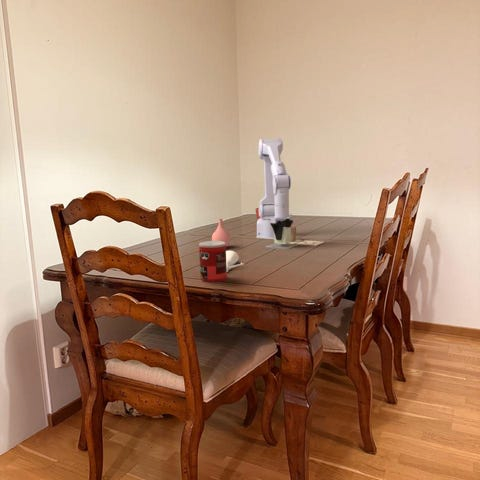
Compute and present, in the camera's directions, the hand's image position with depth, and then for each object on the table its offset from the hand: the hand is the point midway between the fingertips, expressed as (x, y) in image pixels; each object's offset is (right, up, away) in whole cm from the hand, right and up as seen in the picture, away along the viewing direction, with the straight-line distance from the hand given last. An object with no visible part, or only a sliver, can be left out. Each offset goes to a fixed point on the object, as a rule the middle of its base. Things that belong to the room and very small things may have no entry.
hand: (281, 238), depth 177 cm
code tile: (+13, -2, +7) cm, 14 cm away
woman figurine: (-21, -10, -30) cm, 38 cm away
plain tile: (+4, -1, +12) cm, 13 cm away
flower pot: (-3, +7, +58) cm, 59 cm away
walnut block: (+4, -1, +12) cm, 13 cm away
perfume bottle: (-25, -4, +1) cm, 25 cm away
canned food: (-25, -12, -45) cm, 53 cm away
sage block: (0, -2, 0) cm, 2 cm away
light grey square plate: (0, -3, +1) cm, 3 cm away
